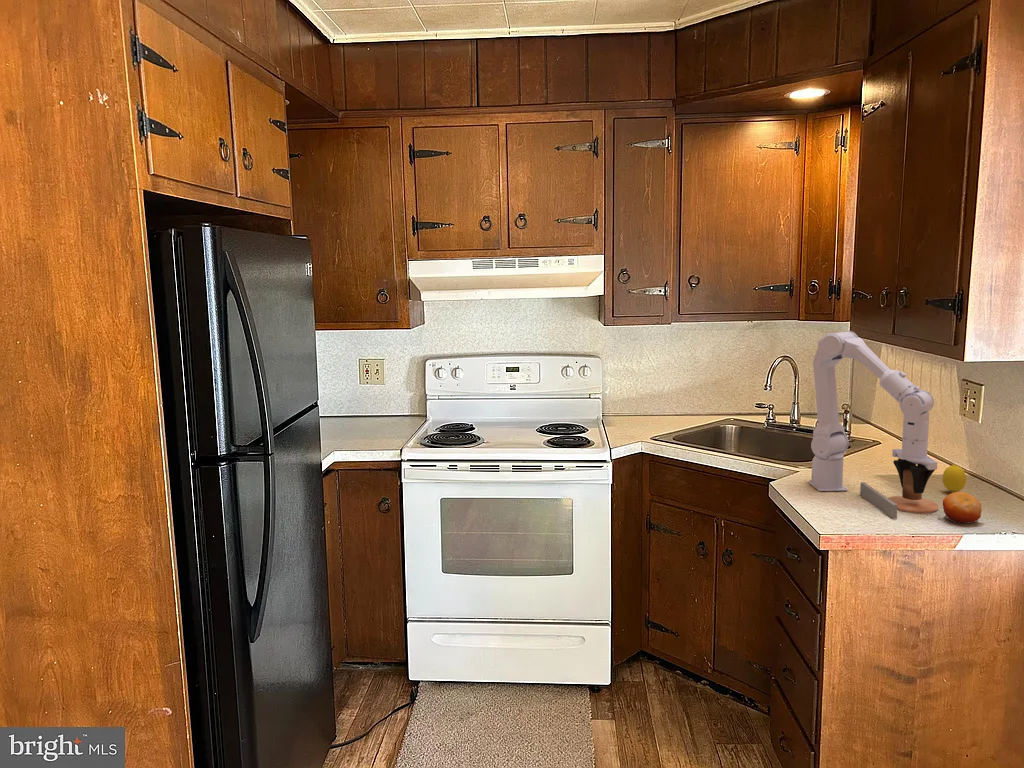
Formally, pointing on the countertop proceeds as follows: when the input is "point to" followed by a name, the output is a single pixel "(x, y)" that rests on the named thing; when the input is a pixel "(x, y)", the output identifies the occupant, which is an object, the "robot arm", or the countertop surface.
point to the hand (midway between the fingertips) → (912, 490)
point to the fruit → (962, 507)
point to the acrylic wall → (879, 500)
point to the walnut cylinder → (909, 486)
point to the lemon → (954, 478)
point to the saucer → (914, 505)
